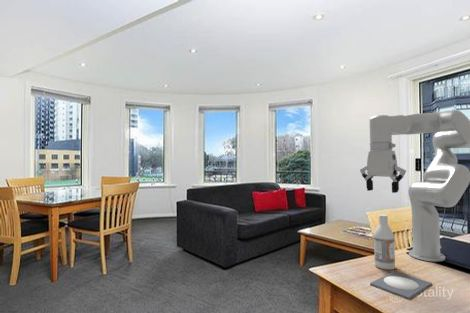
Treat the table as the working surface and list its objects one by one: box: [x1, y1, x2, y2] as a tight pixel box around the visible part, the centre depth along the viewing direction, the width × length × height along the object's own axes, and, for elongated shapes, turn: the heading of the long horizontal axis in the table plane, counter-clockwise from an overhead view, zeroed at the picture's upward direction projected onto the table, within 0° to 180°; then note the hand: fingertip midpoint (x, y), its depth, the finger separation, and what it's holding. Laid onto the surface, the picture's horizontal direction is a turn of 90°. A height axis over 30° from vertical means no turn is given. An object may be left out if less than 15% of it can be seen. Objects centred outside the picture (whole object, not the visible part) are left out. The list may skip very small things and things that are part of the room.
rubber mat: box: [369, 271, 433, 300], centre depth 92 cm, size 16×12×1 cm
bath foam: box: [373, 214, 396, 271], centre depth 107 cm, size 7×7×20 cm
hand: (382, 191), depth 107 cm, fingers open, 9 cm apart
